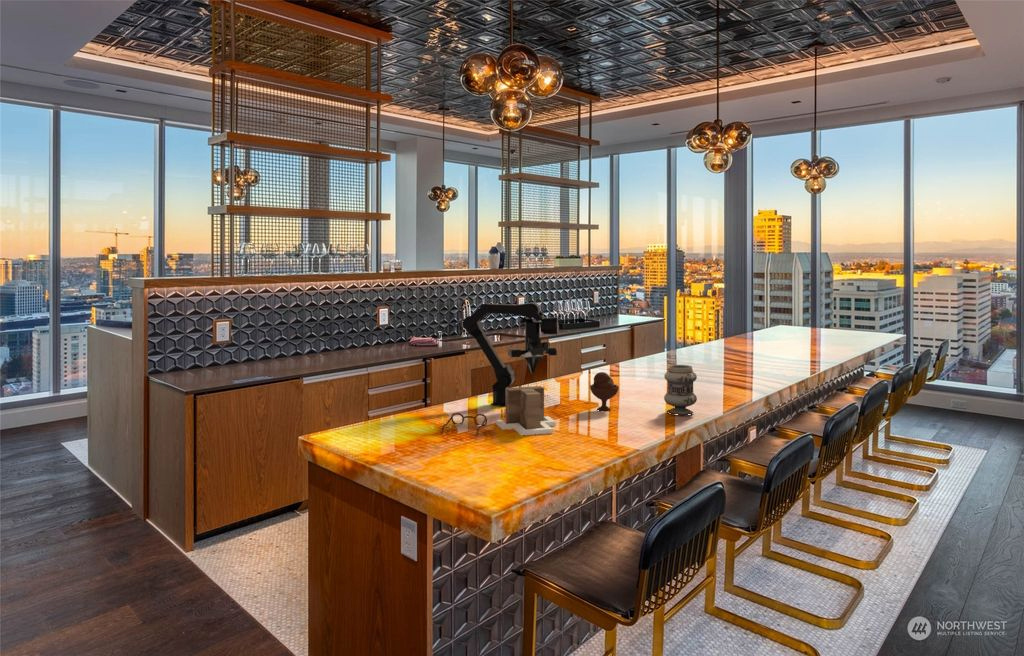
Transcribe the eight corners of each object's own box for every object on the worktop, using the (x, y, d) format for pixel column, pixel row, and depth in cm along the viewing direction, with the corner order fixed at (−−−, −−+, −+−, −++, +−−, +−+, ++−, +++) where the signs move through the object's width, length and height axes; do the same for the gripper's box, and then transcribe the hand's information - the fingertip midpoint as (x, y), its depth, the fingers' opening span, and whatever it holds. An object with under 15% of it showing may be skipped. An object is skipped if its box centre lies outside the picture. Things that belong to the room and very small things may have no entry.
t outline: (496, 424, 231) (496, 419, 231) (548, 420, 237) (548, 416, 236) (509, 436, 215) (509, 432, 215) (564, 432, 220) (564, 427, 220)
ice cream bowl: (618, 414, 245) (618, 374, 244) (588, 412, 248) (588, 373, 246) (619, 407, 256) (619, 369, 254) (590, 406, 258) (590, 369, 256)
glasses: (487, 427, 229) (487, 413, 228) (477, 437, 216) (477, 422, 215) (451, 425, 231) (451, 411, 231) (439, 435, 219) (439, 420, 218)
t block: (505, 424, 231) (505, 388, 230) (540, 421, 235) (540, 385, 233) (515, 433, 219) (515, 395, 218) (552, 430, 222) (552, 393, 221)
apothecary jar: (670, 408, 255) (671, 362, 253) (701, 412, 248) (702, 365, 246) (658, 414, 245) (659, 366, 243) (689, 418, 238) (691, 369, 236)
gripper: (515, 337, 247) (515, 378, 249) (561, 335, 252) (561, 375, 254) (507, 334, 258) (507, 373, 259) (552, 332, 263) (552, 370, 264)
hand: (532, 373), depth 259 cm, fingers closed
